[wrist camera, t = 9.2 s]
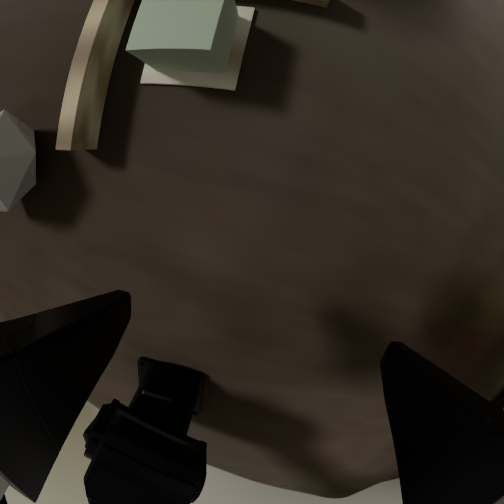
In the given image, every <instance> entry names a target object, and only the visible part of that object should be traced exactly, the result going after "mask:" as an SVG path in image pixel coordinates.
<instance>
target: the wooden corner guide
mask: <svg viewBox="0 0 504 504" xmlns="http://www.w3.org/2000/svg"><path fill="white" fill-rule="evenodd" d="M134 1H135V0H94V1H93V3H92V6H91V8H90V11H89V13H88V16H87V19H86V21H85V24H84V27H83V29H82V32H81V35H80V38H79V41H78V44H77V48H76V51H75V54H74V58H73V61H72V65H71V69H70V72H69V76H68V80H67V85H66V89H65V94H64V99H63V104H62V109H61V114H60V120H59V127H58V134H57V141H56V150H90V149H97V145H98V138H99V131H100V125H101V119H102V114H103V109H104V103H105V99H106V94H107V89H108V85H109V81H110V77H111V73H112V69H113V65H114V61H115V57H116V54H117V50H118V47H119V44H120V41H121V37H122V34H123V31H124V28H125V25H126V22H127V20H128V17H129V14H130V11H131V9H132V6H133V3H134ZM293 1H298V2H303V3H308V4H313V5H317V6H321V7H325V8H327V5H328V3H329V0H293ZM237 10H238V15H239V17H238V21H237V25H236V29H235V33H234V37H233V41H232V45H231V49H230V54H229V58H228V62H227V67H226V71H225V75H224V74H214V73H201V72H184V71H156V70H155V69H153V68H152V67H150V66H149V65H147V64H146V63H145V65H144V69H143V73H142V77H141V81H140V83H141V84H165V85H183V86H196V87H207V88H216V89H225V90H233V91H235V90H236V86H237V81H238V77H239V72H240V68H241V63H242V59H243V55H244V51H245V46H246V42H247V38H248V34H249V30H250V26H251V22H252V18H253V15H254V11H255V8H253V7H244V6H237Z"/></svg>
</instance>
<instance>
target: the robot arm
mask: <svg viewBox="0 0 504 504" xmlns="http://www.w3.org/2000/svg"><path fill="white" fill-rule="evenodd" d="M130 318H131V295H130V293H129V292H126V291H122V290H116V291H113V292H109V293H105V294H102V295H98V296H95V297H91V298H88V299H84V300H81V301H77V302H74V303H70V304H67V305H63V306H60V307H56V308H53V309H49V310H46V311H42V312H39V313H37V314H36V313H35V314H32V315H28V316H24V317H21V318H17V319H13V320H8V321H4V322H0V504H7V501H6V498H5V495H4V493H5V491H6V490H7V487H8V486H9V485H10V486H11V487H13V488H14V489H15V490H17V491H18V492H20V493H21V494H23V495H24V496H25V497H27V498H28V499H30V500H31V501H33V502H36V501H37V499H38V497H39V494H40V492H41V490H42V488H43V485H44V483H45V481H46V479H47V477H48V475H49V473H50V471H51V468H52V466H53V464H54V462H55V460H56V458H57V456H58V454H59V452H60V450H61V448H62V446H63V444H64V442H65V440H66V438H67V436H68V434H69V432H70V431H71V429H72V427H73V425H74V423H75V421H76V419H77V418H78V416H79V414H80V412H81V410H82V408H83V406H84V405H85V403H86V401H87V399H88V398H89V396H90V394H91V392H92V391H93V389H94V387H95V385H96V384H97V382H98V380H99V379H100V377H101V375H102V374H103V372H104V370H105V368H106V367H107V365H108V363H109V362H110V360H111V358H112V357H113V355H114V353H115V351H116V349H117V347H118V345H119V342H120V340H121V338H122V336H123V334H124V331H125V329H126V327H127V325H128V323H129V321H130ZM143 362H144V363H143ZM380 368H381V375H382V383H383V391H384V398H385V404H386V409H387V413H388V418H389V422H390V427H391V432H392V437H393V443H394V448H395V454H396V459H397V465H398V472H399V479H400V485H401V493H402V500H403V504H504V410H503V409H501V408H499V407H498V406H496V405H494V404H493V403H491V402H489V401H488V400H486V399H485V398H483V397H482V396H480V395H479V394H477V393H476V392H474V391H473V390H471V389H470V388H468V387H467V386H465V385H464V384H462V383H461V382H459V381H458V380H456V379H455V378H454V377H452V376H451V375H449V374H448V373H446V372H445V371H443V370H442V369H440V368H439V367H437V366H436V365H434V364H433V363H431V362H430V361H429V360H427V359H426V358H424V357H423V356H421V355H420V354H418V353H417V352H415V351H414V350H412V349H411V348H409V347H408V346H406V345H405V344H403V343H402V342H395V341H392V342H391V343H390V344H389V345H388V347H387V349H386V351H385V353H384V355H383V357H382V359H381V362H380ZM138 376H139V387H138V389H137V391H136V393H135V395H134V397H133V399H132V401H131V402H130V404H129V406H128V407H127V406H125V405H123V404H121V403H120V401H118V400H116V399H115V398H114V399H113V401H112V402H111V404H109V403H108V404H103V406H102V407H101V409H100V411H99V413H98V415H97V416H96V418H95V419H94V420H93V421H92V422H91V424H90V425H89V426H88V427H87V429H86V430H85V432H84V434H83V437H84V439H85V442H86V445H85V448H86V450H85V453H84V456H85V457H87V458H89V459H91V463H90V465H89V467H88V469H87V471H86V474H85V476H84V484H85V490H86V495H87V498H88V502H89V504H190V503H193V502H194V501H195V500H196V499H197V498H198V497H199V495H200V493H201V491H202V489H203V486H204V483H205V479H206V447H207V443H206V442H204V441H201V440H200V441H199V440H196V439H194V438H191V437H189V436H187V433H188V429H189V425H190V422H191V418H192V415H194V416H198V415H199V414H200V408H201V400H202V392H203V384H204V374H202V373H201V372H197V371H192V370H188V369H184V368H180V367H176V366H172V365H169V364H165V363H161V362H158V361H154V360H151V359H147V358H144V357H140V358H139V360H138ZM199 377H200V378H199Z"/></svg>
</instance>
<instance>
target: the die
mask: <svg viewBox="0 0 504 504" xmlns="http://www.w3.org/2000/svg"><path fill="white" fill-rule="evenodd" d="M35 185H36V148H35V138H34V130H33V129H31V128H30V127H28V126H27V125H26V124H24V123H23V122H21V121H20V120H18V119H17V118H15V117H14V116H13V115H11V114H10V113H8V112H7V111H5V110H3V111H1V112H0V211H3V212H8V211H9V210H10V209H11V208H12V207H13V206H14V205H15V204H16V203H17V202H18V201H19V200H20V199H21V198H22V197H23V196H24V195H25V194H26V193H27V192H28V191H29V190H30V189H31V188H32V187H34V186H35Z"/></svg>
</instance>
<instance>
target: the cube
mask: <svg viewBox="0 0 504 504" xmlns="http://www.w3.org/2000/svg"><path fill="white" fill-rule="evenodd" d="M238 17H239V15H238V10H237V6H236V2H235V0H142V2H141V5H140V7H139V10H138V13H137V16H136V18H135V21H134V24H133V27H132V30H131V34H130V37H129V40H128V43H127V47H126V51H127V52H129V53H130V54H132V55H134V56H135V57H137V58H138V59H140V60H141V61H143V62H144V63H146V64H147V65H149V66H150V67H152V68H153V69H155V70H156V71H184V72H201V73H214V74H224V75H225V71H226V67H227V62H228V58H229V54H230V49H231V45H232V41H233V37H234V33H235V29H236V25H237V21H238Z"/></svg>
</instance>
